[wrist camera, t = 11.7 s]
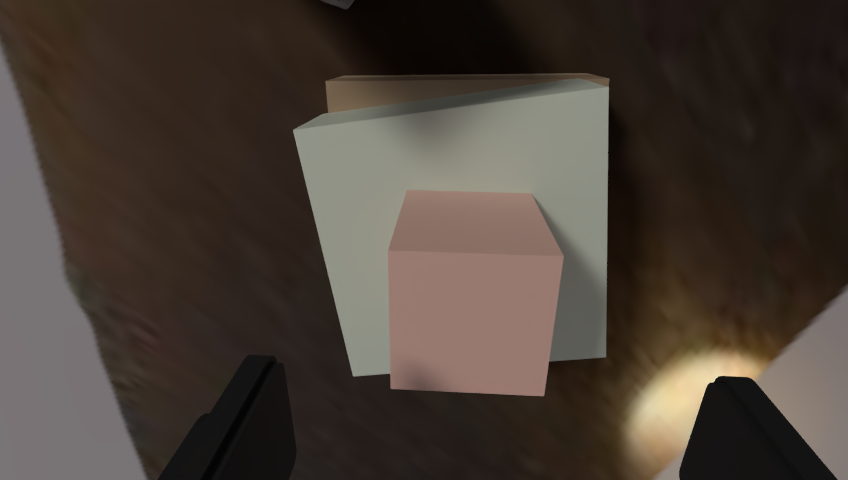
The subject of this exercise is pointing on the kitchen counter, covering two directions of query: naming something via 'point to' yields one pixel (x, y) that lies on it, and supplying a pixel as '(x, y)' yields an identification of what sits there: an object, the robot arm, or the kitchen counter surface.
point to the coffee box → (340, 3)
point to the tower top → (468, 172)
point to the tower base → (427, 87)
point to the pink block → (472, 293)
